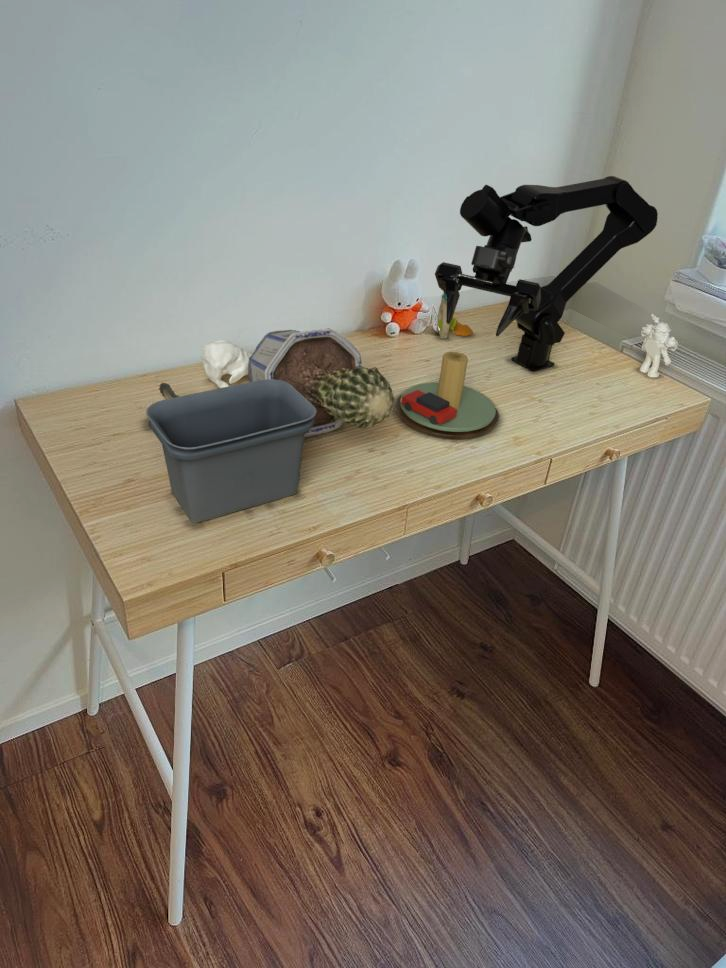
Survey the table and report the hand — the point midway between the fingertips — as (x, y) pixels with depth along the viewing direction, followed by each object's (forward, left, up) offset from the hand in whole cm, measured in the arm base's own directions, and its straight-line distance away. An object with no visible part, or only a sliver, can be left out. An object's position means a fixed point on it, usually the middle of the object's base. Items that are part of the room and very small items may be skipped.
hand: (472, 329), depth 136 cm
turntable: (+7, +3, -12) cm, 14 cm away
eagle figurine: (+50, -16, -14) cm, 54 cm away
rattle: (-17, -22, -14) cm, 31 cm away
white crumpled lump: (+34, -25, -14) cm, 44 cm away
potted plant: (+31, -2, -14) cm, 34 cm away
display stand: (+7, +3, -13) cm, 15 cm away
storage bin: (+51, +6, -14) cm, 53 cm away
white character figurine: (-42, +11, -14) cm, 46 cm away
